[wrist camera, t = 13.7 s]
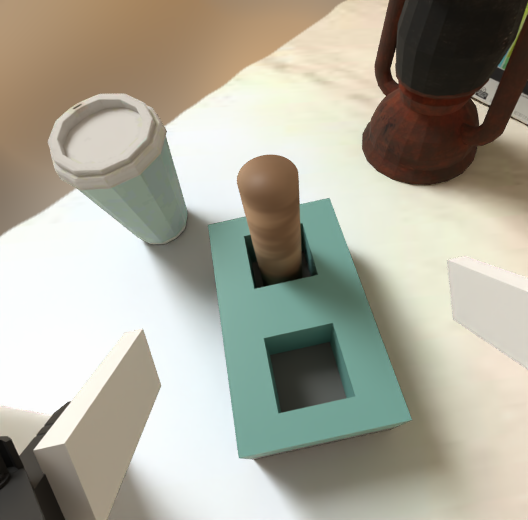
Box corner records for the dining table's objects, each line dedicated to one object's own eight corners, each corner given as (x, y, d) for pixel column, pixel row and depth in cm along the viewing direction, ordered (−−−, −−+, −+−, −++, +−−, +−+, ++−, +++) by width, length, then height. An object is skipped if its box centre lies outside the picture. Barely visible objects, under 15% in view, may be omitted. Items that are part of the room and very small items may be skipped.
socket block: (253, 459, 30) (238, 458, 24) (223, 260, 40) (207, 224, 34) (391, 428, 30) (412, 419, 24) (326, 237, 40) (329, 197, 34)
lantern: (512, 152, 43) (810, -308, 17) (433, 212, 40) (652, -237, 14) (403, 90, 51) (497, -290, 25) (330, 136, 48) (353, -242, 22)
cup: (58, 410, 34) (-114, 373, 20) (133, 437, 32) (-2, 417, 18) (6, 510, 30) (-249, 549, 16) (86, 547, 28) (-127, 627, 14)
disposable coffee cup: (220, 223, 43) (181, 120, 30) (147, 280, 40) (69, 192, 27) (172, 179, 48) (121, 73, 35) (103, 227, 45) (19, 130, 32)
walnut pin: (267, 302, 35) (242, 207, 22) (259, 267, 37) (233, 162, 24) (306, 293, 35) (305, 193, 22) (297, 259, 37) (290, 149, 24)
